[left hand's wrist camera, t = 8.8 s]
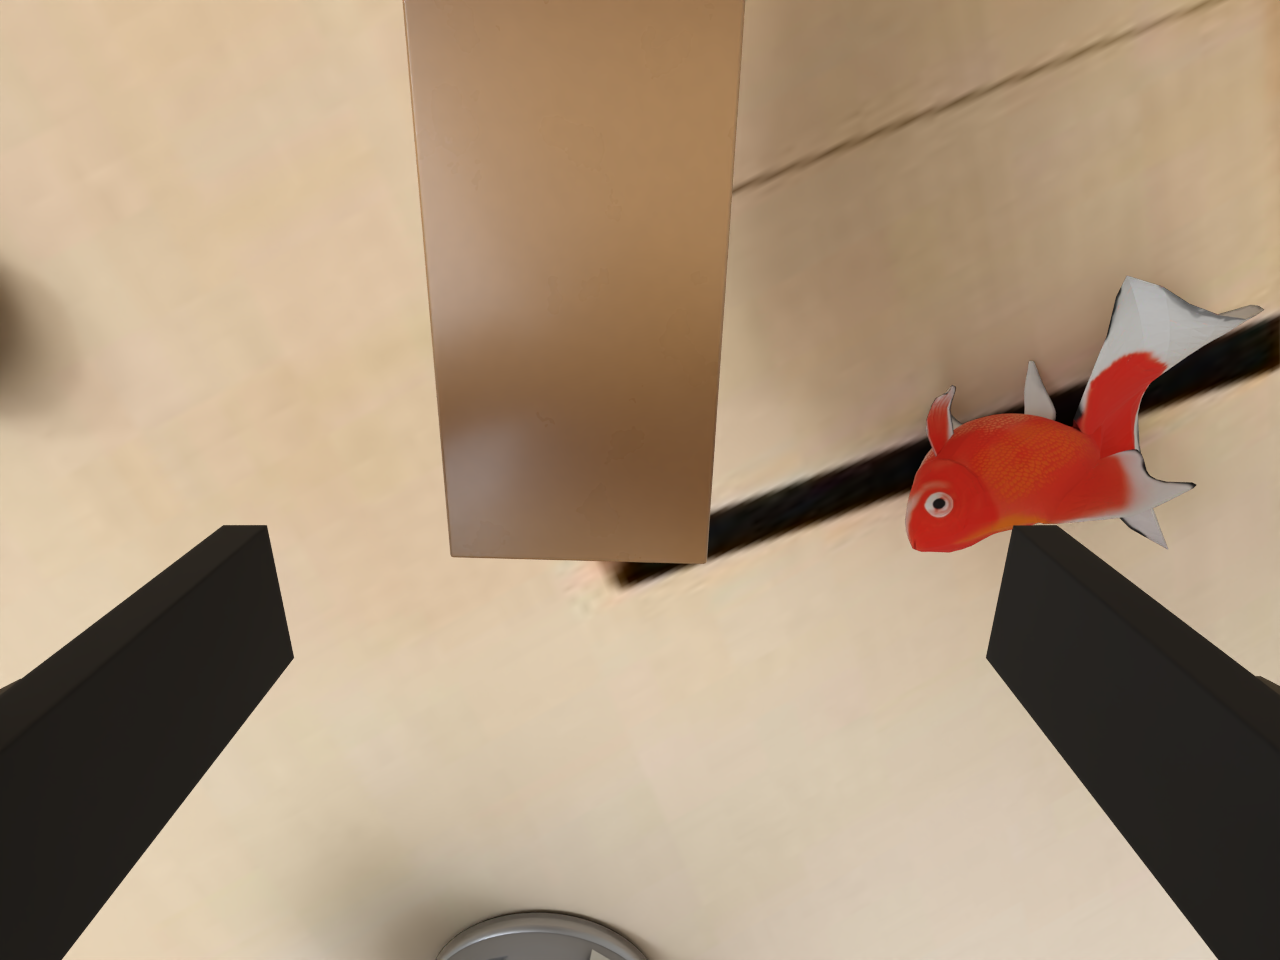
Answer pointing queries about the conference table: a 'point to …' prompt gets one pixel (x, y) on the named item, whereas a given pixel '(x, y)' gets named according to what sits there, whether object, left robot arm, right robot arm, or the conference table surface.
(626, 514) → the bar
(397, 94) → the conference table surface
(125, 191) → the conference table surface
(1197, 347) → the fish
